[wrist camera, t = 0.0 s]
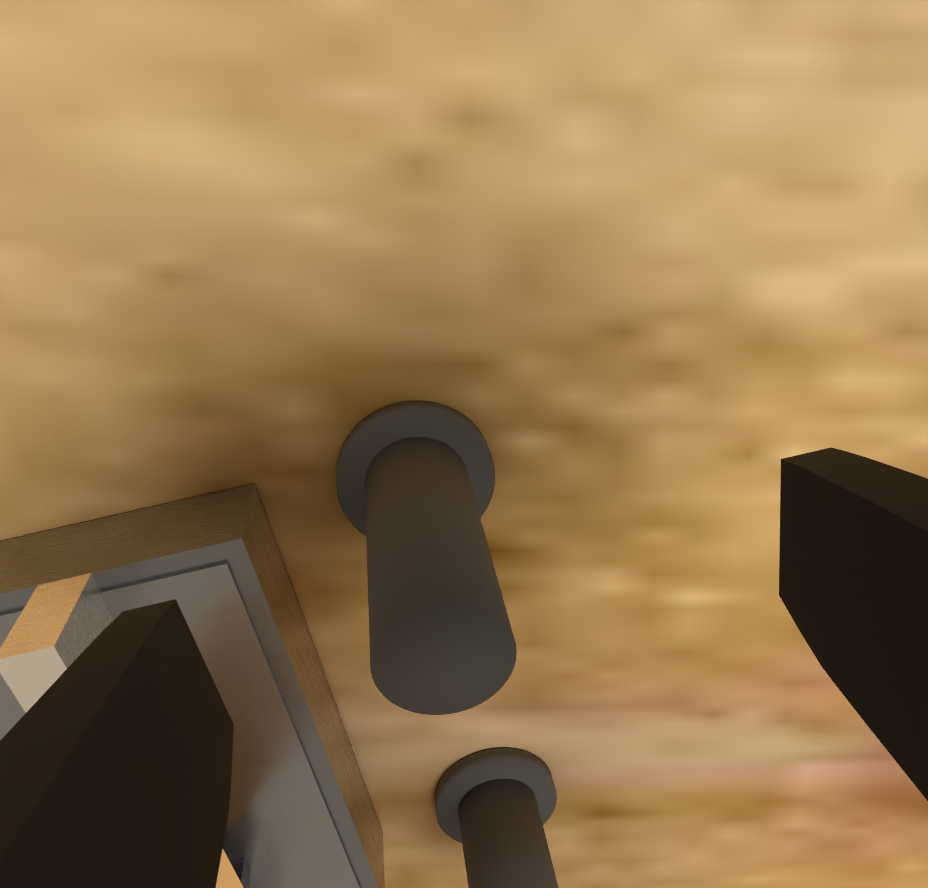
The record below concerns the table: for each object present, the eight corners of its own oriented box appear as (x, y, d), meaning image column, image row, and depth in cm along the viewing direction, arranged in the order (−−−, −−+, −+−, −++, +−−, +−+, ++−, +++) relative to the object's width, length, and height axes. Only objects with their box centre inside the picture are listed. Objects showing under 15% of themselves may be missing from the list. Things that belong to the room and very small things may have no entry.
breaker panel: (382, 832, 26) (388, 989, 21) (148, 889, 25) (107, 1059, 21) (254, 483, 19) (226, 606, 15) (-62, 555, 19) (-184, 701, 15)
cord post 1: (502, 517, 21) (567, 713, 14) (358, 551, 20) (361, 762, 14) (476, 385, 19) (538, 544, 13) (318, 420, 19) (301, 599, 12)
